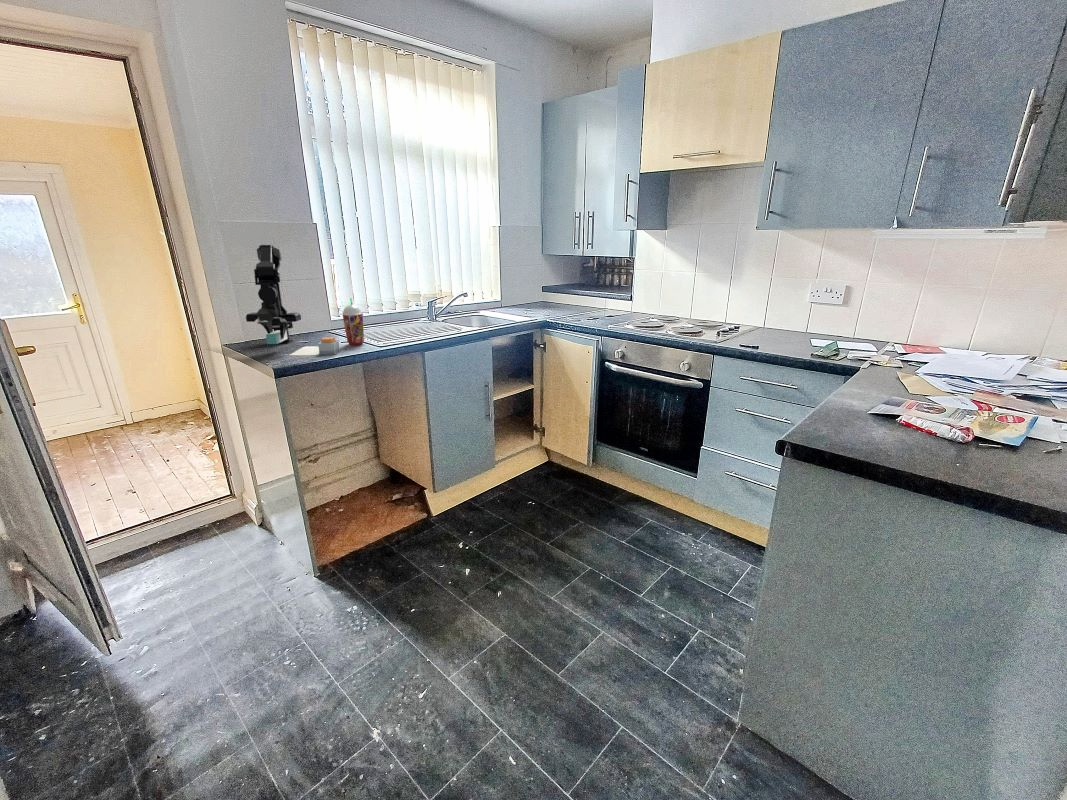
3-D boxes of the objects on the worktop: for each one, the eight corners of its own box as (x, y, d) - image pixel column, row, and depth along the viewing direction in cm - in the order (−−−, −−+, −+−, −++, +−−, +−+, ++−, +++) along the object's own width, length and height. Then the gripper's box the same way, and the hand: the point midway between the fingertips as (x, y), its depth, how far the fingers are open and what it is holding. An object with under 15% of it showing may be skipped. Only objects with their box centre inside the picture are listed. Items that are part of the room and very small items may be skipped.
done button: (325, 344, 189) (324, 337, 188) (335, 344, 189) (334, 337, 188) (321, 346, 185) (320, 339, 184) (332, 346, 186) (331, 339, 185)
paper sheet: (304, 346, 199) (304, 346, 198) (330, 346, 199) (330, 346, 199) (288, 355, 183) (288, 355, 183) (317, 355, 184) (317, 355, 184)
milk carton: (278, 338, 191) (277, 330, 189) (287, 338, 191) (286, 330, 190) (267, 344, 181) (265, 334, 180) (276, 344, 182) (275, 334, 180)
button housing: (324, 351, 191) (323, 340, 189) (339, 351, 191) (338, 340, 190) (319, 354, 185) (318, 343, 184) (335, 354, 186) (333, 343, 184)
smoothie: (364, 346, 201) (359, 299, 194) (344, 346, 199) (338, 299, 193) (367, 342, 208) (362, 297, 202) (348, 342, 207) (342, 297, 201)
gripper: (234, 301, 172) (242, 343, 177) (286, 301, 174) (293, 342, 179) (249, 298, 183) (256, 337, 188) (298, 298, 184) (304, 337, 189)
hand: (277, 338), depth 186 cm, fingers closed on milk carton, 4 cm apart
